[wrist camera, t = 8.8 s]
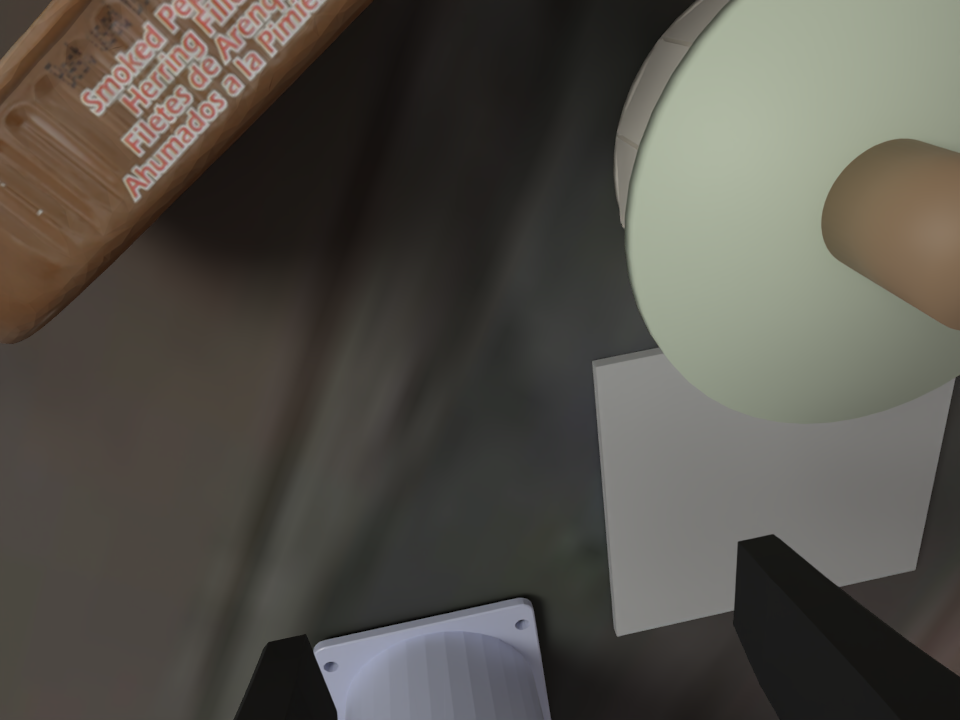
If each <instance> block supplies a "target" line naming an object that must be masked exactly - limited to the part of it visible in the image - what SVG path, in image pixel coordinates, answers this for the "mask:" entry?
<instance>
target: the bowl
mask: <svg viewBox="0 0 960 720" xmlns="http://www.w3.org/2000/svg"><path fill="white" fill-rule="evenodd" d="M729 1H730V0H696V1H695V2H694V3H693V4H691V5H690V6H689V7H688V8H687V9H686V10H685V11H684V12H683V13H682V14H681V15H680V16H679V17H678V18H677V19H676V20H675V21H674V22H673V23H672V24H671V25H670V27H669V28H668V29H667V30H666V31H665V32H664V34H663V35H662V36H661V37H660V38H659V40H658V41H657V42H656V44H655V45H654V47H653V48H652V50H651V51H650V53H649V54H648V56H647V57H646V59H645V60H644V62H643V64H642V66H641V68H640V70H639V71H638V73H637V75H636V77H635V79H634V81H633V83H632V85H631V88H630V90H629V93H628V96H627V98H626V101H625V103H624V106H623V109H622V113H621V117H620V121H619V124H618V128H617V133H616V141H615V148H614V184H615V192H616V199H617V203H618V206H619V210H620V222H621V223H622V224H623V225H622V227H623V228H624V229H625V210H626V203H627V195H628V188H629V181H630V177H631V174H632V170H633V166H634V162H635V158H636V155H637V151H638V147H639V144H640V142H641V139H642V137H643V134H644V131H645V129H646V126H647V124H648V121H649V119H650V116H651V113H652V111H653V109H654V107H655V105H656V103H657V101H658V99H659V98H660V96H661V94H662V92H663V90H664V88H665V86H666V84H667V82H668V80H669V79H670V77H671V75H672V73H673V72H674V70H675V69H676V67H677V66H678V64H679V63H680V61H681V60H682V58H683V57H684V55H685V54H686V53H687V51H688V50H689V48H690V47H691V45H692V44H693V42H694V41H695V39H696V38H697V37H698V36H699V35H700V34H701V32H702V31H703V30H704V29H705V28H706V26H707V25H708V24H709V23H710V22H711V21H712V19H713V18H714V17H715V16H716V15H717V13H718V12H719V11H720V10H721V9H722V8H723V7H724V6H725V5H726V4H727V3H728V2H729Z"/></svg>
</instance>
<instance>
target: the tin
mask: <svg viewBox="0 0 960 720" xmlns="http://www.w3.org/2000/svg"><path fill="white" fill-rule="evenodd" d="M372 2H373V0H52V2H51V3H50V4H49V5H48V6H47V8H46V9H45V10H44V11H43V12H42V13H41V15H40V16H39V17H38V18H37V19H36V20H35V21H34V22H33V24H32V25H31V26H30V27H29V29H28V30H27V31H26V32H25V33H24V34H23V35H22V36H21V37H20V38H19V39H18V40H17V42H16V43H15V44H14V45H13V46H12V47H11V48H10V50H9V51H8V52H7V53H6V54H5V55H4V57H3V58H2V59H1V60H0V343H6V344H14V343H17V342H20V341H22V340H24V339H26V338H28V337H30V336H31V335H33V334H34V333H36V332H37V331H38V330H40V329H41V328H42V327H43V326H45V325H46V324H47V323H48V322H49V321H51V320H52V319H53V318H54V317H55V316H57V315H58V314H59V313H60V312H61V311H62V310H63V309H64V308H65V307H66V306H68V305H69V304H70V303H71V302H72V301H73V300H74V299H75V298H76V297H77V296H78V295H79V294H80V293H82V292H83V291H84V290H85V289H86V288H87V287H88V286H89V285H90V284H91V283H92V282H93V281H94V280H95V279H96V278H97V277H99V276H100V275H101V274H102V273H103V272H104V271H105V270H106V269H107V268H108V267H109V266H110V265H111V264H112V263H113V262H114V261H115V260H116V259H117V258H118V257H119V256H120V255H121V254H122V253H123V252H124V251H125V250H126V249H127V248H128V247H129V246H130V245H131V244H132V243H133V242H134V241H135V240H136V239H137V238H138V237H139V236H140V235H141V234H142V233H143V232H144V231H145V230H147V229H148V228H149V227H150V226H151V225H152V224H153V223H154V222H155V221H156V220H157V219H158V218H159V217H160V215H161V214H162V213H163V212H164V211H165V210H166V209H167V208H168V207H169V206H170V205H171V204H172V203H173V202H174V201H175V200H176V199H177V198H178V197H179V196H180V195H181V194H183V193H184V192H185V191H186V190H187V189H188V188H189V187H190V186H191V185H192V184H193V183H194V182H195V181H196V180H197V179H198V178H199V177H200V176H201V175H202V174H203V173H204V172H205V171H206V170H207V169H208V167H209V166H210V165H211V164H213V163H214V162H215V161H216V160H217V159H218V158H219V157H220V156H221V155H222V154H223V153H224V152H225V151H226V150H227V149H228V148H229V147H230V146H231V145H232V144H233V143H234V142H235V141H236V140H237V139H238V138H239V137H240V136H241V135H242V134H243V133H244V132H245V131H246V130H247V129H248V128H249V127H250V126H251V125H252V124H253V123H254V122H255V121H256V120H257V119H258V118H259V117H260V116H261V115H262V114H263V113H264V112H265V111H266V110H267V109H268V108H269V107H270V106H271V105H272V104H273V103H274V102H275V101H276V100H277V99H278V98H279V97H280V96H281V95H282V94H283V93H284V92H285V91H286V90H287V89H288V88H289V87H290V86H291V85H292V84H293V83H294V82H295V81H296V79H297V78H298V77H299V76H300V75H301V74H302V73H303V72H304V71H305V70H306V69H307V68H308V67H309V66H310V65H311V64H312V63H313V62H314V61H315V60H316V59H317V58H318V57H319V56H320V55H321V54H322V53H323V52H324V51H325V50H326V49H327V48H328V47H329V46H330V45H331V44H332V43H333V42H334V41H335V40H336V38H337V37H338V36H339V35H340V34H341V33H342V32H343V31H344V30H345V29H346V28H347V27H348V26H349V25H350V24H351V23H352V22H353V21H354V20H355V19H356V18H357V17H358V16H359V15H360V14H361V13H362V12H363V11H364V10H365V9H366V8H367V7H368V6H369V5H370V4H371V3H372Z"/></svg>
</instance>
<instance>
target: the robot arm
mask: <svg viewBox="0 0 960 720" xmlns="http://www.w3.org/2000/svg"><path fill="white" fill-rule="evenodd" d="M519 620H522V621H519ZM733 625H734V627H735V629H736V632H737V634H738V636H739V639H740V641H741V643H742V646H743V648H744V650H745V653H746V655H747V657H748V659H749V662H750V664H751V666H752V668H753V670H754V673H755V675H756V677H757V679H758V681H759V684H760V686H761V687H762V689H763V691H764V693H765V694H766V696H767V698H768V700H769V701H770V703H771V705H772V707H773V708H774V710H775V712H776V714H777V715H778V717H779V719H780V720H960V677H959V676H958V675H956V674H955V673H953V672H952V671H951V670H949V669H948V668H946V667H945V666H943V665H942V664H941V663H939V662H938V661H936V660H935V659H933V658H932V657H930V656H929V655H928V654H926V653H925V652H923V651H922V650H921V649H919V648H918V647H917V646H915V645H914V644H912V643H911V642H910V641H908V640H907V639H906V638H904V637H903V636H902V635H900V634H899V633H898V632H896V631H895V630H894V629H892V628H891V627H890V626H888V625H887V624H886V623H884V622H883V621H882V620H880V619H879V618H878V617H876V616H875V615H874V614H872V613H871V612H870V611H869V610H867V609H866V608H865V607H863V606H862V605H861V604H860V603H858V602H857V601H856V600H854V599H853V598H852V597H851V596H849V595H848V594H847V593H846V592H844V591H843V590H842V589H841V588H839V587H838V586H837V585H836V584H834V583H833V582H832V581H831V580H829V579H828V578H827V577H826V576H825V575H823V574H822V573H821V572H820V571H818V570H817V569H816V568H815V567H814V566H812V565H811V564H810V563H809V562H807V561H806V560H805V559H804V558H803V557H801V556H800V555H799V554H798V553H797V552H795V551H794V550H793V549H792V548H791V547H789V546H788V545H787V544H786V543H785V542H783V541H782V540H781V539H780V538H778V537H777V536H775V535H774V534H771V535H766V536H761V537H757V538H752V539H747V540H743V541H738V546H737V565H736V584H735V602H734V621H733ZM329 662H333V663H329ZM234 720H551V716H550V709H549V703H548V697H547V691H546V684H545V678H544V672H543V665H542V659H541V653H540V646H539V640H538V634H537V627H536V621H535V615H534V610H533V606H532V603H531V601H529V600H528V599H526V598H515V599H510V600H506V601H501V602H497V603H492V604H487V605H483V606H478V607H474V608H469V609H465V610H460V611H455V612H451V613H446V614H442V615H437V616H433V617H428V618H423V619H419V620H414V621H410V622H405V623H401V624H396V625H391V626H387V627H382V628H378V629H373V630H369V631H364V632H359V633H355V634H350V635H346V636H341V637H337V638H332V639H327V640H324V641H321V642H319V643H318V644H317V645H316V646H315V648H314V653H313V650H312V648H311V645H310V643H309V640H308V638H307V635H306V634H304V635H300V636H295V637H290V638H286V639H281V640H276V641H272V642H268V643H267V645H266V646H265V647H264V649H263V651H262V654H261V656H260V659H259V661H258V664H257V666H256V669H255V671H254V673H253V676H252V678H251V681H250V683H249V685H248V688H247V690H246V693H245V695H244V697H243V699H242V702H241V704H240V706H239V709H238V711H237V713H236V715H235V718H234Z"/></svg>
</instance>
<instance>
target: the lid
mask: <svg viewBox="0 0 960 720" xmlns="http://www.w3.org/2000/svg"><path fill="white" fill-rule="evenodd" d="M625 255H626V263H627V270H628V278H629V282H630V285H631V289H632V292H633V296H634V299H635V303H636V306H637V308H638V310H639V312H640V315H641V317H642V319H643V321H644V323H645V326H646V328H647V330H648V331H649V333H650V334H651V336H652V337H653V339H654V340H655V342H656V343H657V345H658V346H659V348H660V349H661V351H662V352H663V353H664V355H665V356H666V357H667V359H668V360H669V361H670V362H671V364H672V365H673V366H674V367H675V368H676V369H677V370H678V371H679V372H680V373H681V374H682V375H683V376H684V377H685V379H686V380H687V381H688V382H689V383H691V384H692V385H693V386H695V387H696V388H697V389H699V390H700V391H701V392H702V393H704V394H705V395H706V396H708V397H709V398H711V399H713V400H715V401H717V402H719V403H720V404H722V405H724V406H726V407H728V408H730V409H732V410H735V411H738V412H741V413H743V414H746V415H749V416H752V417H756V418H760V419H765V420H770V421H775V422H783V423H797V424H813V423H831V422H837V421H843V420H850V419H856V418H860V417H864V416H867V415H871V414H875V413H878V412H882V411H886V410H888V409H891V408H893V407H896V406H899V405H901V404H904V403H907V402H909V401H912V400H914V399H916V398H918V397H920V396H922V395H924V394H926V393H928V392H930V391H932V390H934V389H936V388H938V387H940V386H942V385H944V384H945V383H947V382H949V381H950V380H952V379H954V378H955V377H957V376H959V375H960V0H730V1H729V2H728V3H727V4H726V5H725V6H724V7H723V8H722V9H721V10H720V11H719V12H718V13H717V15H716V16H715V17H714V18H713V19H712V21H711V22H710V23H709V24H708V25H707V26H706V28H705V29H704V30H703V31H702V32H701V34H700V35H699V36H698V37H697V38H696V39H695V41H694V42H693V44H692V45H691V47H690V48H689V50H688V51H687V53H686V54H685V55H684V57H683V58H682V60H681V61H680V63H679V64H678V66H677V67H676V69H675V70H674V72H673V73H672V75H671V77H670V79H669V80H668V82H667V84H666V86H665V88H664V90H663V92H662V94H661V96H660V98H659V99H658V101H657V103H656V105H655V107H654V109H653V111H652V113H651V116H650V119H649V121H648V124H647V126H646V129H645V131H644V134H643V137H642V139H641V142H640V144H639V147H638V151H637V155H636V158H635V162H634V166H633V170H632V174H631V177H630V181H629V188H628V195H627V203H626V210H625Z"/></svg>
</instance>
